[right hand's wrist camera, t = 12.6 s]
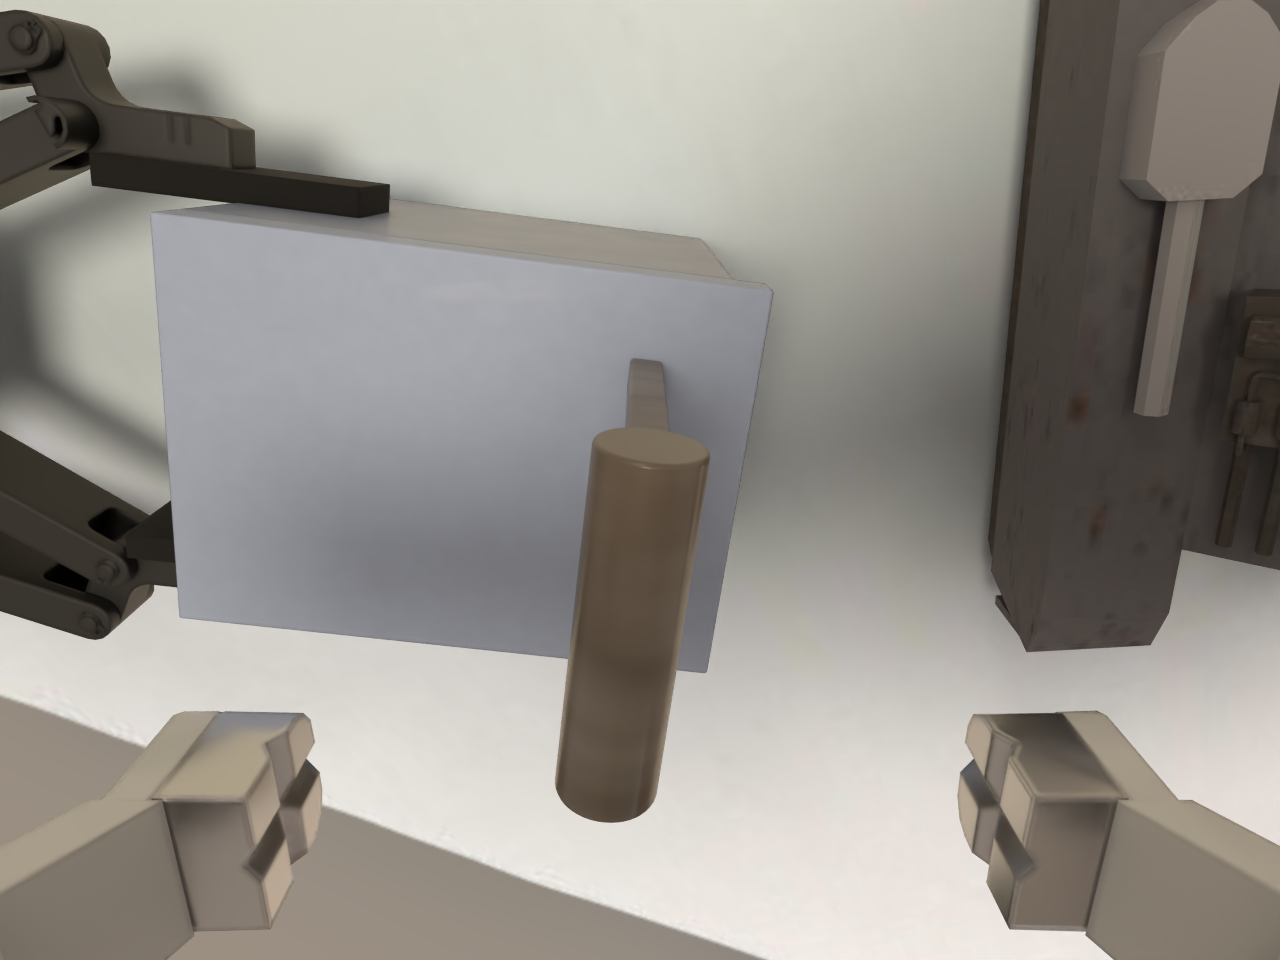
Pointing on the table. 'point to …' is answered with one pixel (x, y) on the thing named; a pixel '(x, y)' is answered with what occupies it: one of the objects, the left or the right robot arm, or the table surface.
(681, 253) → the chest
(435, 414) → the lid
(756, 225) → the table surface
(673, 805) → the table surface
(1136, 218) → the toy
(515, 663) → the table surface
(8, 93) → the table surface
